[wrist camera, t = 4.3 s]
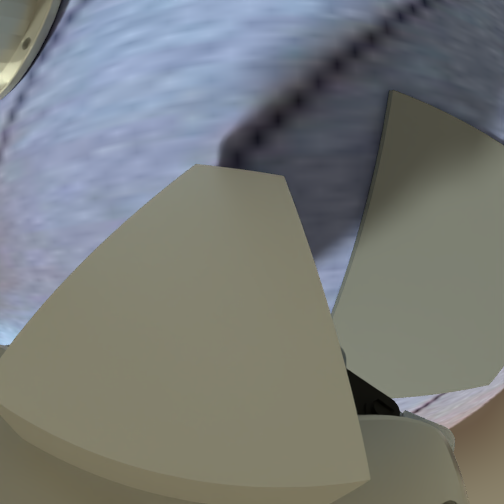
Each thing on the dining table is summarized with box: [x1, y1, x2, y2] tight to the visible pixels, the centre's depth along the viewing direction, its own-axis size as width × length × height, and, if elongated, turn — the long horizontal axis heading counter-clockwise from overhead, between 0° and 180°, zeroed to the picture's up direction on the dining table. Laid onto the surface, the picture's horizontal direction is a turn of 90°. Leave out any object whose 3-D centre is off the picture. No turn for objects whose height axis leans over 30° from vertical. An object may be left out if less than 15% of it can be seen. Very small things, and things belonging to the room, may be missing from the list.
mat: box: [331, 90, 504, 398], centre depth 16 cm, size 22×24×1 cm
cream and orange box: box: [0, 164, 371, 504], centre depth 9 cm, size 8×4×12 cm, turn 172°
